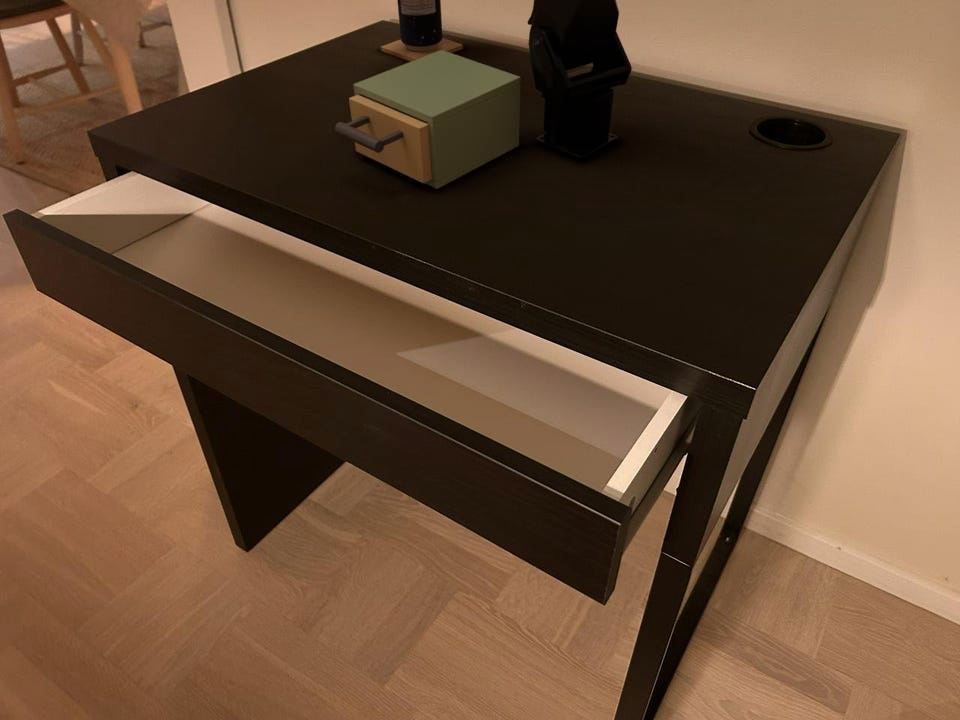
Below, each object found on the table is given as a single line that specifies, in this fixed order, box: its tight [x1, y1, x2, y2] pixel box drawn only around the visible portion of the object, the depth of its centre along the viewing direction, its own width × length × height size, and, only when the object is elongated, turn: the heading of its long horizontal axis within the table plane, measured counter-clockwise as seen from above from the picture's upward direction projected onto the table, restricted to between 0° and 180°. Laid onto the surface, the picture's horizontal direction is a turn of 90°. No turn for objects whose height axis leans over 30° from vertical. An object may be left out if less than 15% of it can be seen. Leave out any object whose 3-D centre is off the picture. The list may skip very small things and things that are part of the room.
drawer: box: [334, 95, 432, 184], centre depth 77 cm, size 15×10×6 cm
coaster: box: [380, 37, 464, 62], centre depth 103 cm, size 8×8×1 cm
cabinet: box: [352, 50, 522, 190], centre depth 79 cm, size 13×12×8 cm
